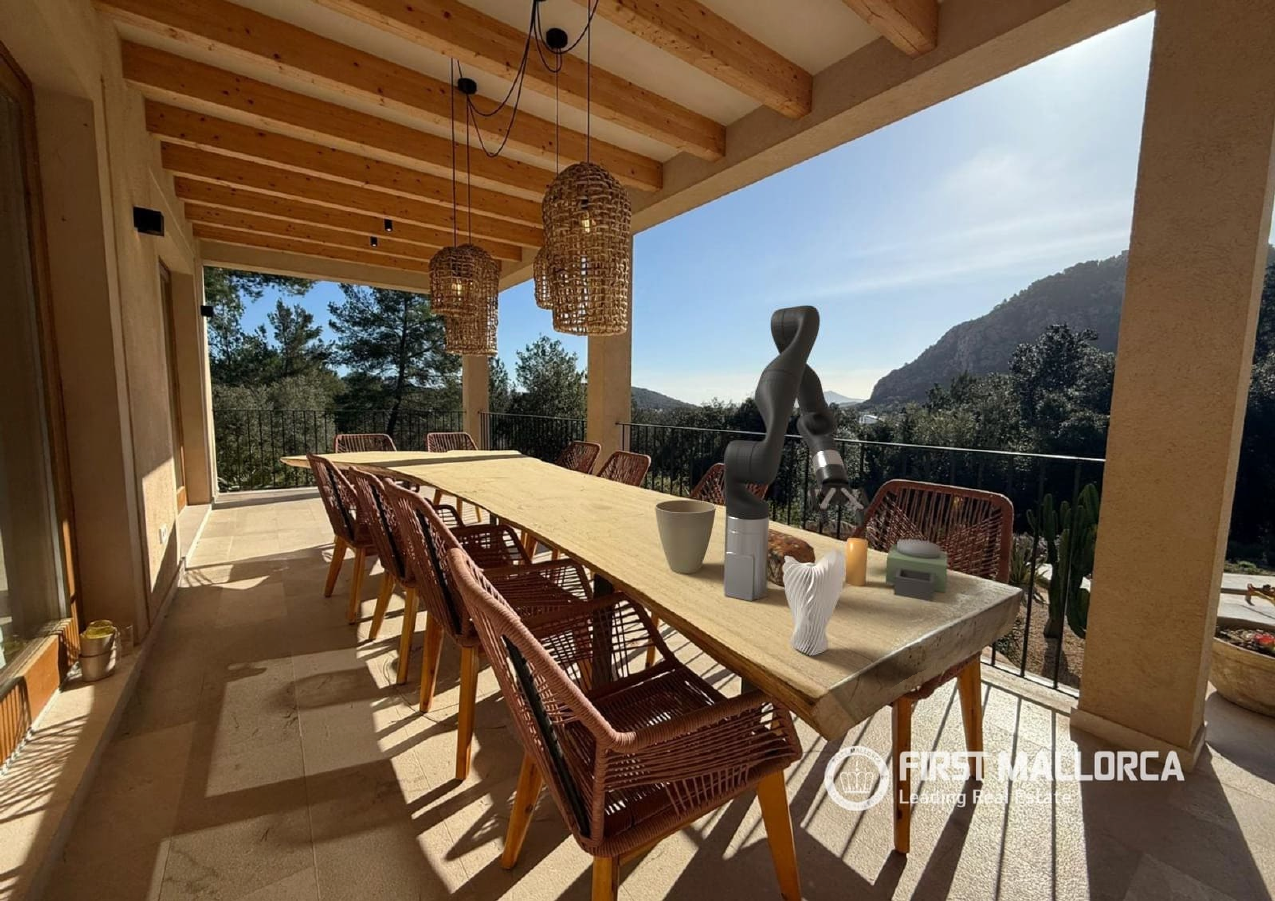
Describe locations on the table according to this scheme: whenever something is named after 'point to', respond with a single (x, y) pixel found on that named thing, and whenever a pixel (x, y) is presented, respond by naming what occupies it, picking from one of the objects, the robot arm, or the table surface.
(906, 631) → the table surface
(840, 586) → the white ribbed vase
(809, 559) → the bread
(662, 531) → the plant pot
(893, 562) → the green two-tone box
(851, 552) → the amber pillar candle
